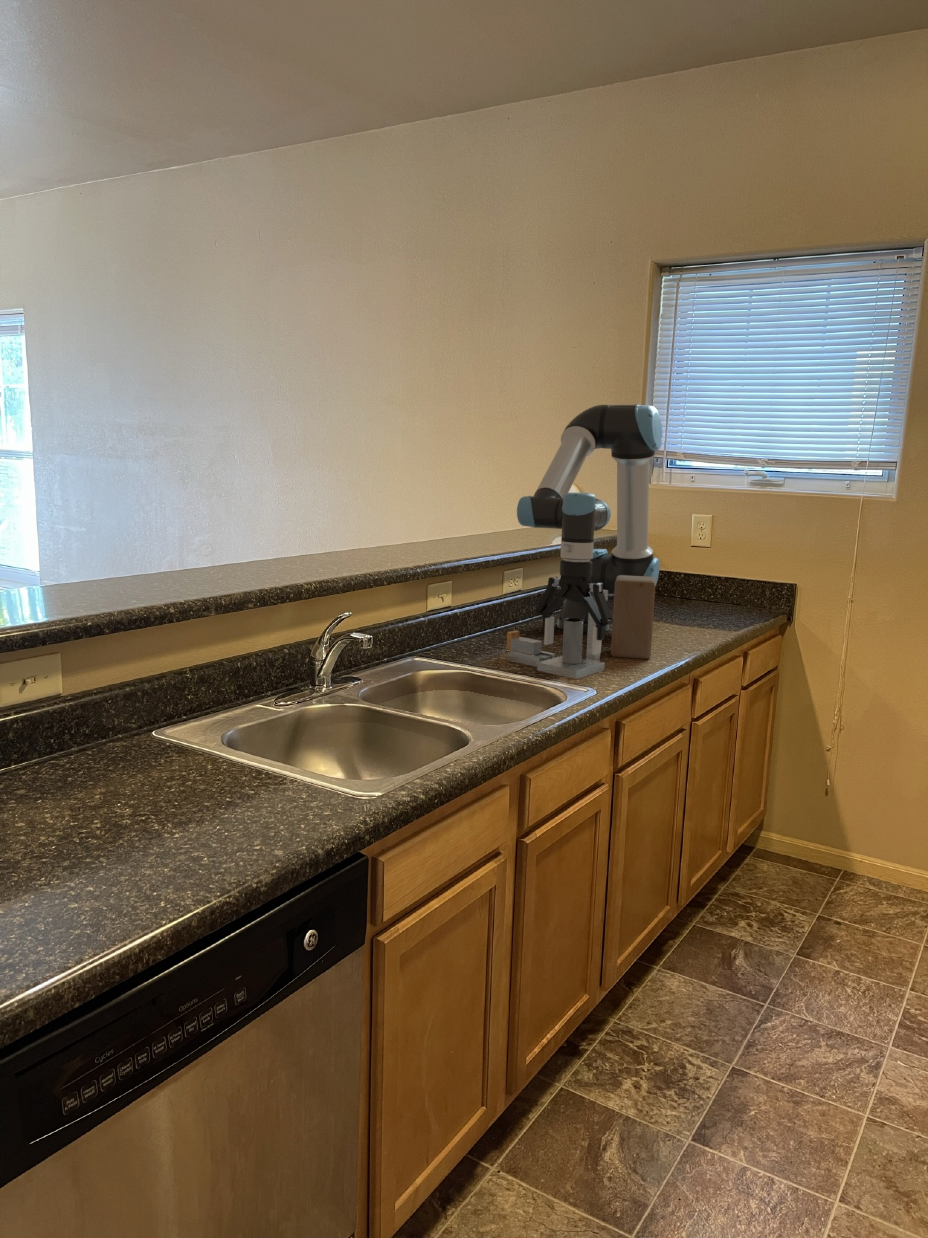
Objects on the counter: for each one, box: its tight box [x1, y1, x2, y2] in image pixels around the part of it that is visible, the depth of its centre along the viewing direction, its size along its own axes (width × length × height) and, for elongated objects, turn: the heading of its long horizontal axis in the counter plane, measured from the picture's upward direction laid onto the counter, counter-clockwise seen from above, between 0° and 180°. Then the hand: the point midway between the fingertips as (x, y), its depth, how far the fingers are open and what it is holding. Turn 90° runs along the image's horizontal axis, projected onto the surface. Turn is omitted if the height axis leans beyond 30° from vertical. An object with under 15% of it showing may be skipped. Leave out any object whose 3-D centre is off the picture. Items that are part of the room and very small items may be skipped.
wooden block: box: [610, 575, 656, 660], centre depth 235 cm, size 10×10×20 cm
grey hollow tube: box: [561, 618, 584, 664], centre depth 217 cm, size 4×4×10 cm
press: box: [509, 589, 609, 680], centre depth 222 cm, size 18×22×18 cm
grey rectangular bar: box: [506, 630, 543, 655], centre depth 226 cm, size 3×8×4 cm, turn 49°
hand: (572, 648), depth 217 cm, fingers open, 13 cm apart
